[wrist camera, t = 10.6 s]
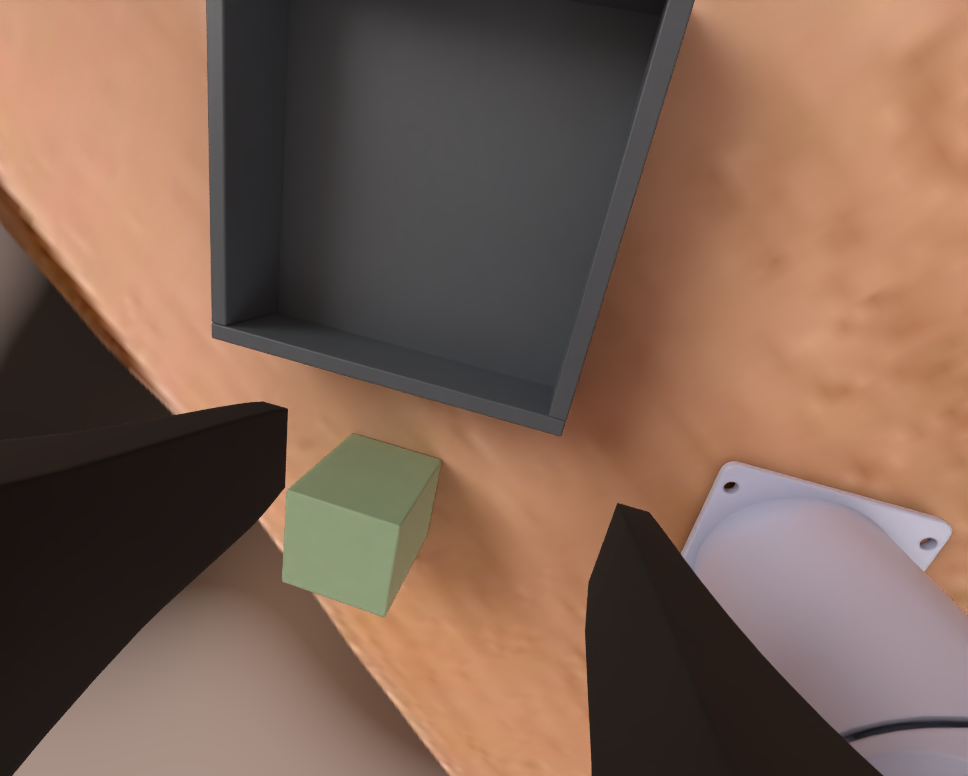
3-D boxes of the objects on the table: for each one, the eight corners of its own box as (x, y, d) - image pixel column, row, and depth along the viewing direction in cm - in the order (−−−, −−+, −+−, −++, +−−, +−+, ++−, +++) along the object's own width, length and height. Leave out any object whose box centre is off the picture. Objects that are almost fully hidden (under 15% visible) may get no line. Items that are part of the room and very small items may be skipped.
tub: (565, 401, 18) (561, 437, 15) (270, 321, 20) (211, 338, 17) (685, 0, 13) (717, -71, 10) (283, -62, 15) (202, -141, 12)
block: (427, 536, 22) (384, 618, 17) (343, 509, 22) (280, 582, 18) (442, 459, 20) (400, 526, 16) (352, 432, 21) (286, 489, 16)
